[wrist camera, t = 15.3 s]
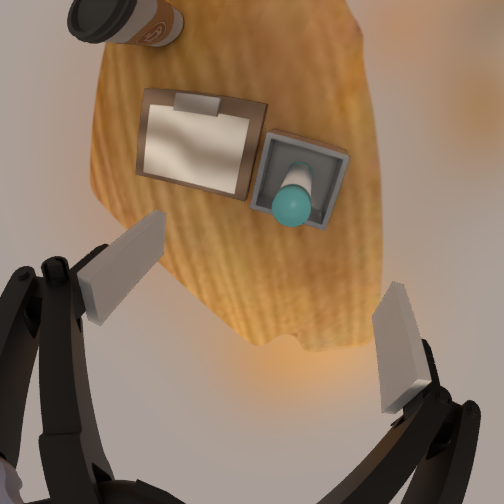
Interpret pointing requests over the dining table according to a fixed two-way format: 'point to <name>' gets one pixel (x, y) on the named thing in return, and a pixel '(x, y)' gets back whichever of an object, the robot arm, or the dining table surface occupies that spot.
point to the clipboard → (199, 140)
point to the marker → (294, 196)
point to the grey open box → (300, 150)
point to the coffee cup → (125, 21)
